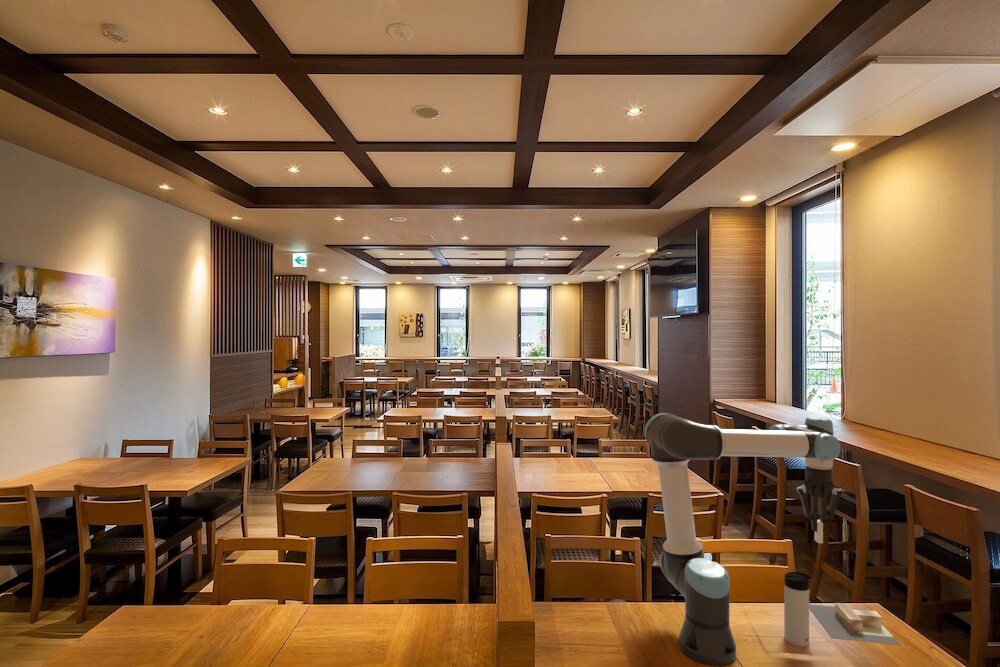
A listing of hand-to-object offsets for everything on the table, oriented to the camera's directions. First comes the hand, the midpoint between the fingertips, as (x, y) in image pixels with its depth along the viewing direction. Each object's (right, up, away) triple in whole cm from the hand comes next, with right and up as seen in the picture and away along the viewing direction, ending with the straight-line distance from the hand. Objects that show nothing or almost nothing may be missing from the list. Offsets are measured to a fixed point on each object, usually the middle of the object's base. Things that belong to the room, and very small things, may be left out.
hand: (818, 541), depth 170 cm
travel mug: (-15, -24, -15) cm, 32 cm away
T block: (+9, -23, -6) cm, 25 cm away
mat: (+6, -24, -6) cm, 25 cm away
